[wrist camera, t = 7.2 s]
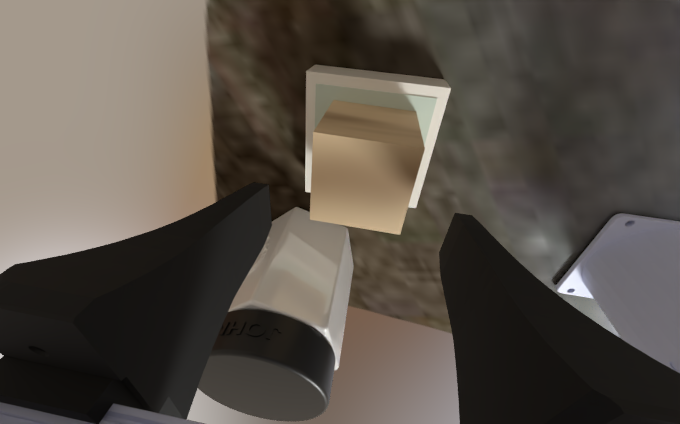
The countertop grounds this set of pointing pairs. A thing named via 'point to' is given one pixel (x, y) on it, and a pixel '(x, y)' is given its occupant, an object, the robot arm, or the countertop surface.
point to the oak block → (365, 166)
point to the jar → (285, 324)
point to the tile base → (376, 104)
